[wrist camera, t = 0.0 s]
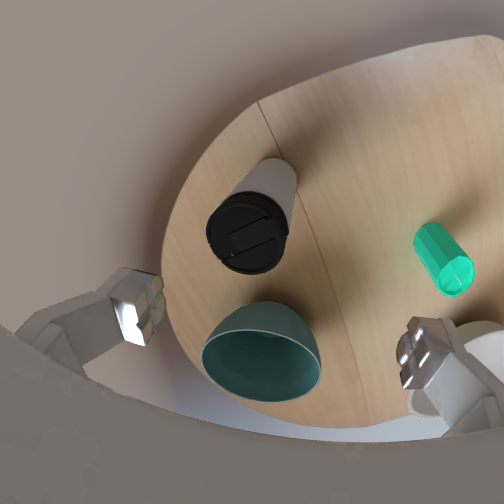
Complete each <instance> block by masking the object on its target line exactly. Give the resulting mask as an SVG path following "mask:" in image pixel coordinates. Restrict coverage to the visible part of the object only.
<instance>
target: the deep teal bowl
mask: <svg viewBox="0 0 504 504" xmlns="http://www.w3.org/2000/svg"><path fill="white" fill-rule="evenodd" d="M201 364H202V366H203V369H204V371H205V372H206V374H207V375H208V376H209V378H210V379H211V380H212V381H213V382H214V383H215V384H217V385H218V386H219V387H221V388H222V389H224V390H225V391H227V392H229V393H231V394H233V395H235V396H238V397H241V398H244V399H247V400H251V401H256V402H264V403H280V402H287V401H292V400H295V399H298V398H300V397H303V396H305V395H307V394H308V393H310V392H311V391H312V390H313V389H314V388H315V387H316V386H317V384H318V383H319V381H320V378H321V360H320V355H319V350H318V347H317V344H316V341H315V338H314V336H313V334H312V332H311V330H310V329H309V327H308V326H307V324H306V323H305V321H304V320H303V319H302V318H301V317H300V316H299V315H298V314H297V313H296V312H295V311H293V310H292V309H290V308H289V307H287V306H285V305H283V304H281V303H278V302H273V301H260V302H255V303H251V304H248V305H246V306H243V307H241V308H239V309H238V310H236V311H234V312H233V313H231V314H230V315H229V316H227V317H226V318H225V319H224V320H223V321H222V322H221V323H220V324H219V325H218V326H217V327H216V328H215V329H214V331H213V332H212V333H211V335H210V336H209V338H208V339H207V341H206V343H205V344H204V346H203V349H202V351H201Z"/></svg>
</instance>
